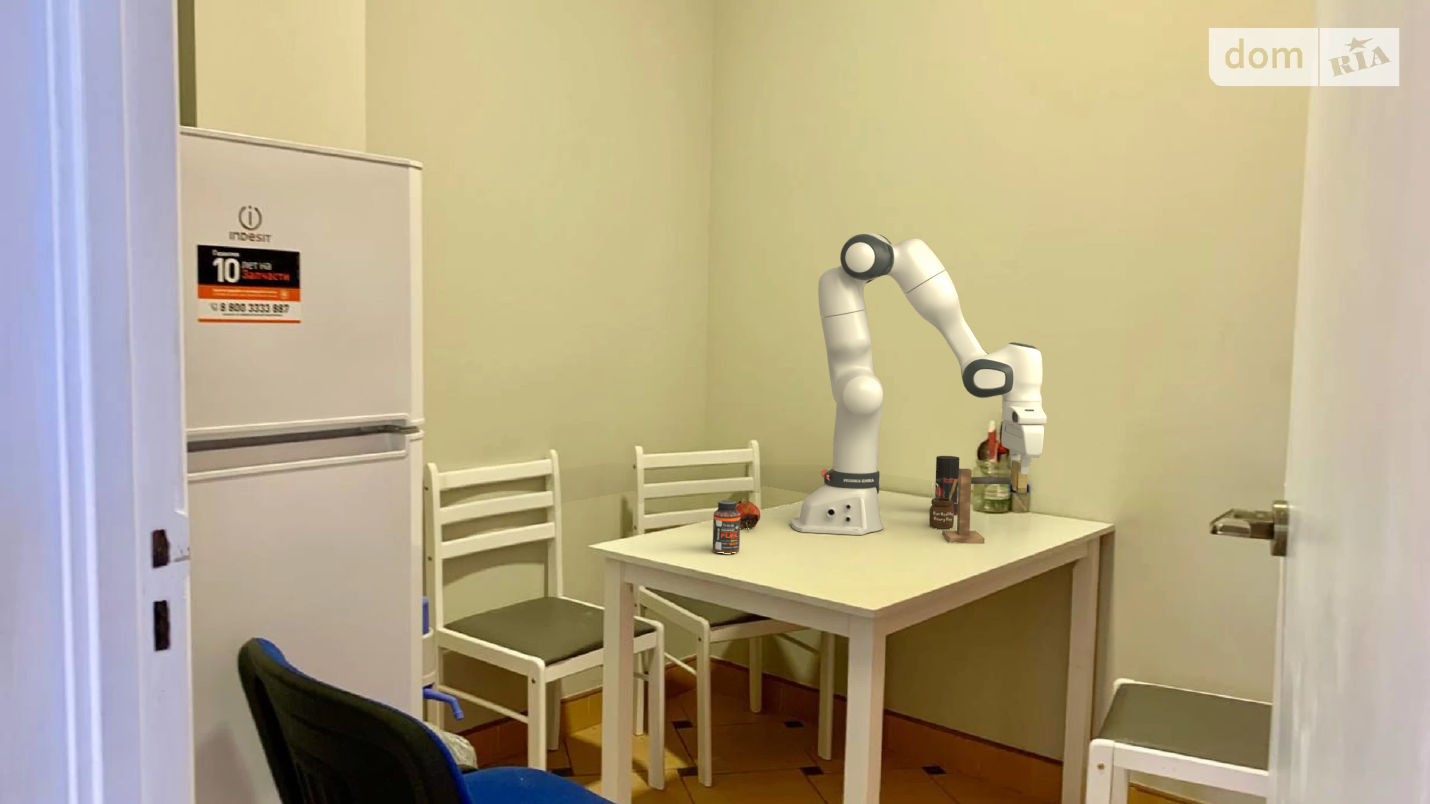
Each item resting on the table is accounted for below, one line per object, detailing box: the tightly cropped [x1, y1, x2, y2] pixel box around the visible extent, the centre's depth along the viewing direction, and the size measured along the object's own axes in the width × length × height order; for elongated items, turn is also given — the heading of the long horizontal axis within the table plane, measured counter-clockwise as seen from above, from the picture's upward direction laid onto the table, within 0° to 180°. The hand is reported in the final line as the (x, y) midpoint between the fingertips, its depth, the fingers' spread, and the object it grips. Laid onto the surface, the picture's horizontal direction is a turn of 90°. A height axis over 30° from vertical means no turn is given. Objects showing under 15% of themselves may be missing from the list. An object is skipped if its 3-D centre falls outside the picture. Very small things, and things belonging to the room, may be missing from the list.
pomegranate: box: [736, 500, 761, 533], centre depth 248 cm, size 7×7×10 cm
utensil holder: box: [928, 479, 957, 530], centre depth 253 cm, size 6×6×12 cm
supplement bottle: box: [712, 499, 741, 553], centre depth 225 cm, size 6×6×11 cm
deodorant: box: [934, 455, 960, 516], centre depth 270 cm, size 6×6×15 cm
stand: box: [941, 468, 1012, 544], centre depth 240 cm, size 15×8×17 cm, turn 90°
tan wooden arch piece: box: [1011, 459, 1028, 494], centre depth 240 cm, size 2×5×7 cm, turn 0°
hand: (1019, 471), depth 240 cm, fingers closed on tan wooden arch piece, 5 cm apart
